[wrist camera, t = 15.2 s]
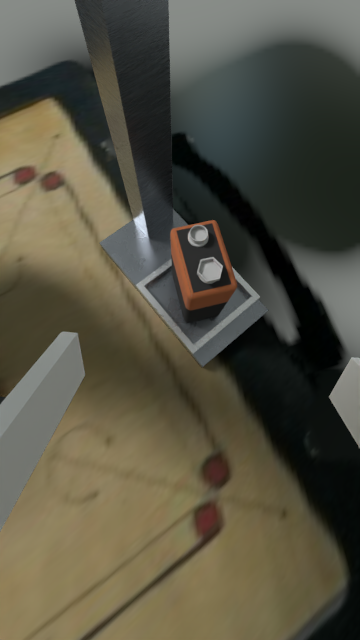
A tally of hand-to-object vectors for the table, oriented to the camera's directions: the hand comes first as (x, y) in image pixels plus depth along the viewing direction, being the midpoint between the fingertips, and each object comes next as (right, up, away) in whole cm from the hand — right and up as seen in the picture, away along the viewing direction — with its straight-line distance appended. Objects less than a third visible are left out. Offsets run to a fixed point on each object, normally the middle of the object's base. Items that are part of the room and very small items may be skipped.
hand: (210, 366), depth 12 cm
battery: (0, +5, +17) cm, 18 cm away
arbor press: (-1, +7, +19) cm, 20 cm away
